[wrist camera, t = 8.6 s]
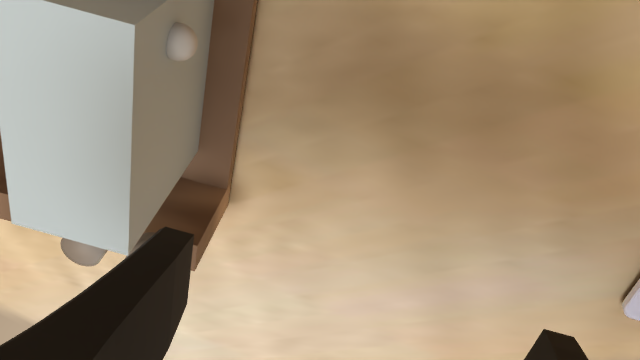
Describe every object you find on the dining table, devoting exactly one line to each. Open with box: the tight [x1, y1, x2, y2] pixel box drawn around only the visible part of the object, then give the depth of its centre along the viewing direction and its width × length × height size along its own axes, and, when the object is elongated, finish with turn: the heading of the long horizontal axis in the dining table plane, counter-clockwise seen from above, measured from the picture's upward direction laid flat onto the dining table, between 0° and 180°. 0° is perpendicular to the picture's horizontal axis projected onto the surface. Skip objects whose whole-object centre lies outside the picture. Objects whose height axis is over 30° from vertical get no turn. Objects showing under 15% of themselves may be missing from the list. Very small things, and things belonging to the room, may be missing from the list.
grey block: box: [0, 0, 214, 256], centre depth 17 cm, size 4×7×6 cm, turn 168°
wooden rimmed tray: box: [0, 0, 258, 271], centre depth 18 cm, size 12×12×5 cm
